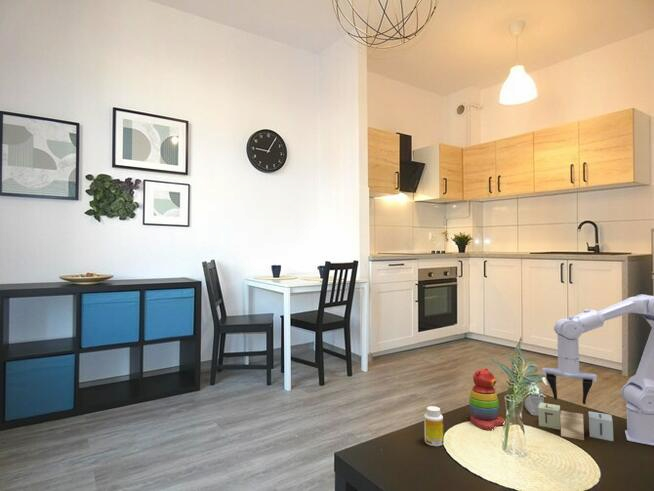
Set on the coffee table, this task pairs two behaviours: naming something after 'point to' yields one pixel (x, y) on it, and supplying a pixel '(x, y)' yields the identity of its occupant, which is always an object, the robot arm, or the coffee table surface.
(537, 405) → the gray thick disc
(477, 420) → the stacking bear
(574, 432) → the plain birch block
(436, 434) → the supplement bottle
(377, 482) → the coffee table surface
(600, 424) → the pale grey cube
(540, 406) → the green letter cube
